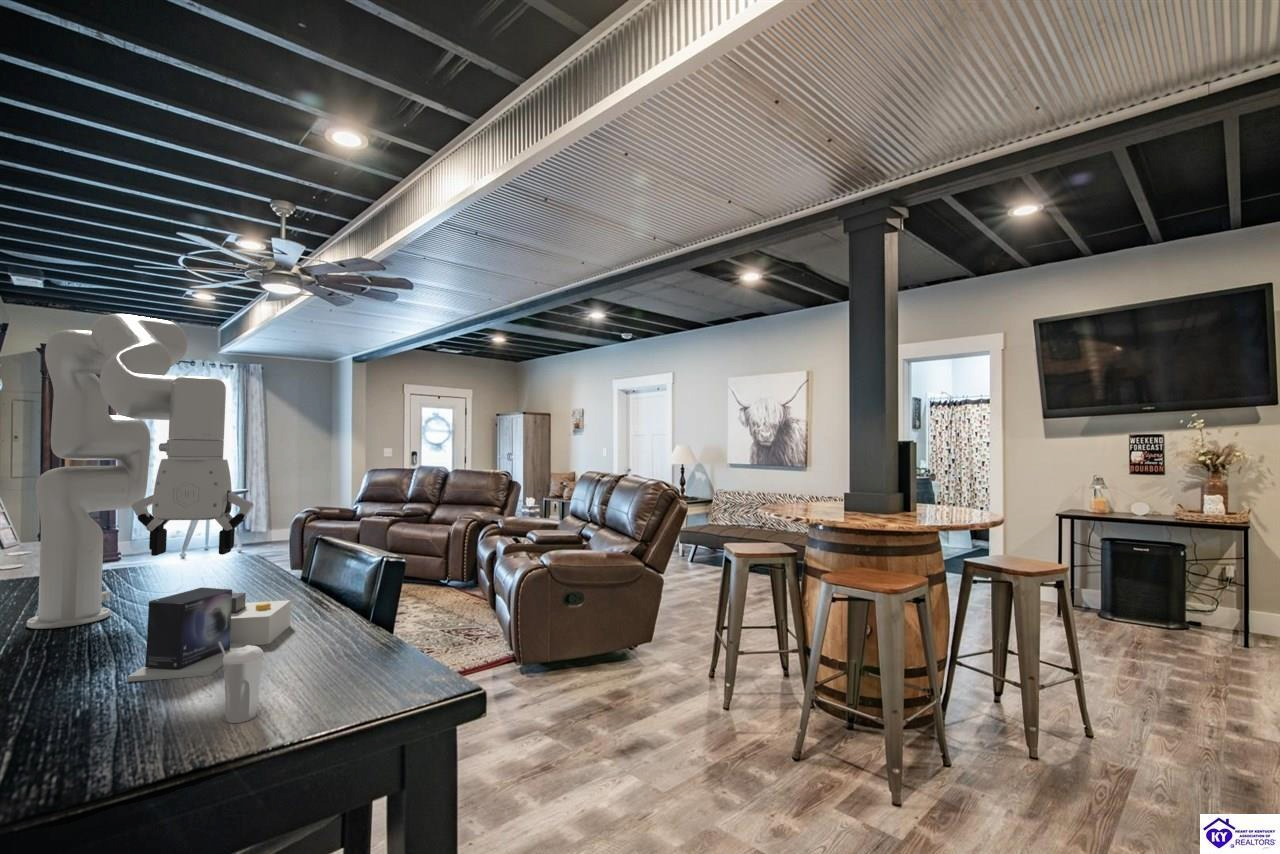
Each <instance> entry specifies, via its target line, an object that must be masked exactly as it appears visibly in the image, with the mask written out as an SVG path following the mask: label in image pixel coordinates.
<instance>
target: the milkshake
mask: <svg viewBox="0 0 1280 854" xmlns="http://www.w3.org/2000/svg"><path fill="white" fill-rule="evenodd" d="M218 643H219V646H220V648H221V650H222V653H223V655H224V657H223V665H222V668H223V669H222V670H223V679H224V695H225V711H226V712H225V713H226V714H225V715H226V722H228V723H230V724H240V723H241V724H242V723H246V722H249V721H250V720H252V719H255V718H256V716H257V714H258V713H257V711H258V701H259V695H260V694H259V693H260V685H261V684H260V683H261V676H262V669H263V660H264V655H265V653H264V651H263V649H262V648H261V647H259V646H258V645H247V646H245V647H242V648H236V649H235V650H233V651H230V652H228V653H227V654H226V653H225V651H224V648H223V646H222V644H221V642H218Z"/></svg>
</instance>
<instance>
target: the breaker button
mask: <svg viewBox="0 0 1280 854" xmlns="http://www.w3.org/2000/svg"><path fill="white" fill-rule="evenodd" d="M246 596H247V595H246V592H232V607H231V614H236V613H239V612H240V611H242V610H243V609H245V603H246V598H247V597H246Z"/></svg>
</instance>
